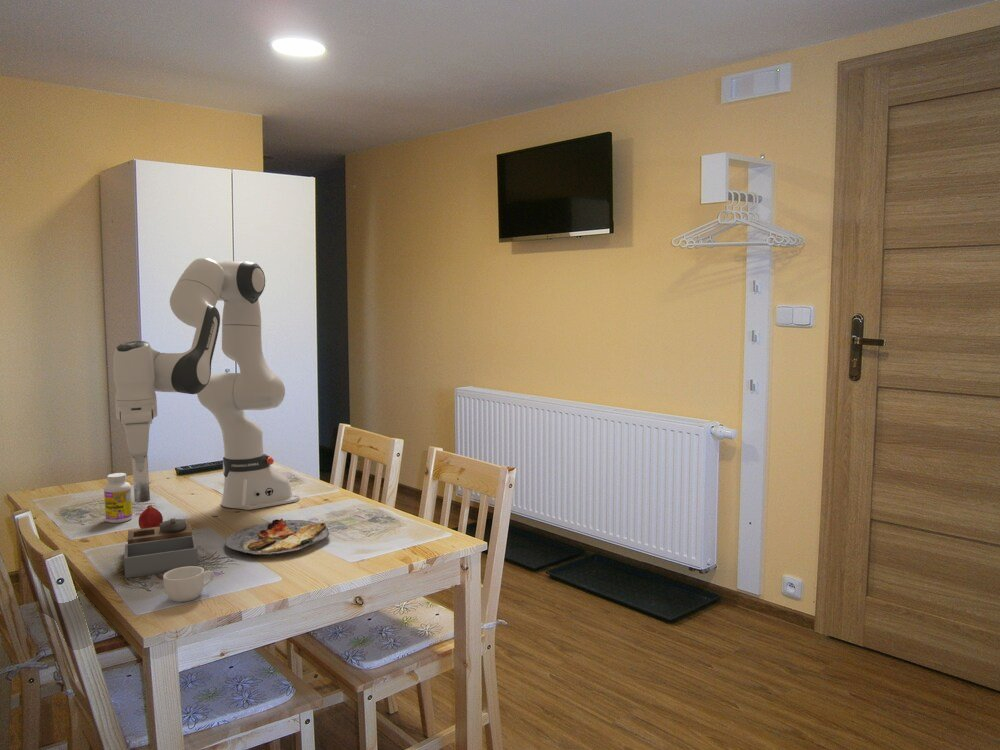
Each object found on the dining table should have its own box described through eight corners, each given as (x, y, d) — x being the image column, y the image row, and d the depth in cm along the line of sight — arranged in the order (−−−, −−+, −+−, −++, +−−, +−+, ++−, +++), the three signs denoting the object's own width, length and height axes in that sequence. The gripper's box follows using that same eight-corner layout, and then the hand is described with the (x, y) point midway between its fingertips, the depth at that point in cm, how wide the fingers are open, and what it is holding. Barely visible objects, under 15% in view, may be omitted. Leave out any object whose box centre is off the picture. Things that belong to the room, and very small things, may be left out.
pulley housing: (191, 541, 191) (189, 512, 190) (192, 551, 183) (191, 521, 183) (129, 550, 185) (127, 520, 184) (128, 560, 177) (126, 529, 177)
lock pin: (150, 497, 184) (147, 449, 182) (150, 501, 180) (147, 452, 179) (134, 499, 182) (131, 450, 181) (134, 503, 179) (131, 453, 178)
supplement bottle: (101, 523, 206) (97, 477, 205) (113, 516, 213) (110, 471, 211) (125, 523, 206) (122, 477, 205) (137, 516, 213) (134, 471, 211)
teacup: (172, 609, 150) (170, 583, 150) (159, 597, 156) (157, 572, 155) (221, 595, 157) (220, 570, 156) (207, 584, 163) (206, 560, 162)
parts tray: (195, 553, 182) (194, 535, 182) (198, 567, 173) (197, 548, 172) (126, 563, 176) (125, 544, 175) (125, 578, 166) (124, 558, 166)
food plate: (279, 522, 206) (279, 509, 206) (347, 535, 196) (346, 522, 195) (206, 552, 184) (205, 538, 184) (277, 569, 174) (277, 554, 173)
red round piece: (139, 532, 198) (138, 503, 197) (163, 529, 200) (162, 500, 200) (138, 539, 193) (137, 508, 192) (163, 536, 195) (161, 506, 194)
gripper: (122, 405, 187) (126, 459, 188) (120, 417, 168) (124, 478, 170) (150, 403, 189) (154, 457, 191) (151, 415, 171) (155, 475, 173)
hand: (140, 467), depth 180 cm, fingers closed on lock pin, 3 cm apart
